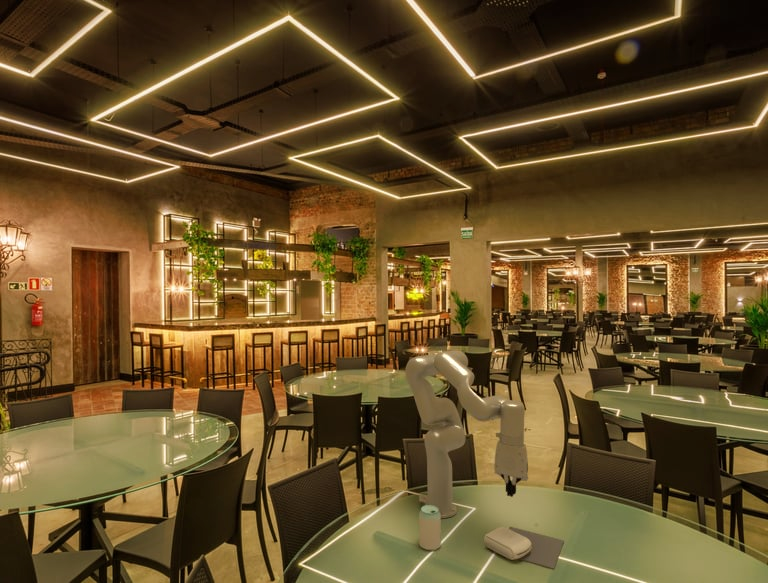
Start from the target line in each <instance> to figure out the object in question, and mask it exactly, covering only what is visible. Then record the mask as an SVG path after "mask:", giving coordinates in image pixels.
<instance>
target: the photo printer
mask: <svg viewBox="0 0 768 583" xmlns="http://www.w3.org/2000/svg"><path fill="white" fill-rule="evenodd" d="M483 538H484V539H483V543H484V545H485V547H486V548H488V549H490V550H492V551H494V553H495V552H497V553H496V554H498V553H499V554H498V555H501V556H503V557H505V558H506V559H508V560H512V561H513V560H519V559H518V558H521V557H523V556H525V555H526V554H527V553H528V552H529V551H530V550H531V548H532V547H531V542H530V540H529V539H528V538H526V537H524V536H522V535H520V534H518V533H516V532H514V531H512V530H510V529H509V527H508V528H507V527H505V526H500V527H498V528H496V529H494V530H492V531H488V533H486V534H485V536H484V537H483Z"/></svg>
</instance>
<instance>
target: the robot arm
mask: <svg viewBox="0 0 768 583" xmlns="http://www.w3.org/2000/svg"><path fill="white" fill-rule="evenodd" d="M468 365H469V359H468V357H467V355H466V354H465V353H464V352H463V351H461V350H459V349H458V350H456V349H455V350H447V351H446V350H445V351H441V352H438V353H435V354H426V355H425V354H424V355H418V356H414V357H412V358H410V359H409V360H408V362H407V364H406V366H405V371H404V372H405V378H406V382H407V384H408V385H409V387H410V390H411V392H412V394H413V397H414V398H413V399H414V400H415V401H414V402H415V405H416V407H417V411H418V414H419V417H420V419H421V422H423V424H424V425H427V426H434V425H438V424H442V425H441V426H438V427H434V428H432V429H430V430H428V431H427V433H425V436H424V448H425V452H426V453H425V454H426V463H427V465H426V467H427V470H426V473H427V495H425V494H422V493H419V495H418V502H420V503H423V506H426V505H433V506H436V507H437V508H438V509H439V510H438V511H439V512H440V514H441V519H447V518H452V517H454V516H456V514H457V506H456V505H455V504H454V503H453V465H452V460H451V458H450V456H449V452H451V451H454V450H457V449H459V448H462V446H464V445H465V442H466V433H465V428H464V426H463V423H462V420H461V417H460V414H459V412H458V409H457V407H456V404H455V403H454V402H453V400H451V399H449V398H447V397H439V398H438V397H437V395H436V393H435V390H434V387H433V385H431V383H430V382H429V381H428V380H427V379H426V377H432V376H440V375H441V376H442V377H443V378H444V379H445V380H446V381H447V382H448V383H450V384H451V385H452V387H454V389H455V390H456V392H457V398H458V401H459V403H460V405H461V406H462V408H463V409H464V410H465V411H466V412H467V413H468V414H469V415H470V416H472V418H474V419H475V420H476V421H478V422H489V421H493V420H498V419H500V422H499V423H500V427H499V428H500V432H496V433H495V437H496V438H498V441H497V443H496V448H495V455H494V462H493V464H494V467H493V468H494V474H496V475H497V476H500V478H502V480H503V481H504V483H505V492H506V495H507V496H508V497H511V498H513V496H514V495H516V493H517V484H518V483H519V482H527V481H528V479H529V476H528V475H529V474H528V471H529V460H528V450H527V446H526V444H525V406H524V403H522V402H521V401H518V400H511V399H509V398H506V397H504V396H502V395H496V394H495V395H491V396H486V397H480V396H479V395H477V394H478V393H476V392H474V390H473V389H472V388H471V386H472V385H473V384H474V380H475V374H474V372H472V371H471V370H470V369H469V368H468ZM511 477H512V480H511Z"/></svg>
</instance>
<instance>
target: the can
mask: <svg viewBox="0 0 768 583" xmlns="http://www.w3.org/2000/svg"><path fill="white" fill-rule="evenodd" d="M438 510H439V509H438V508H437V507H436V506H433V505H426V506H424V505H423V506H422V507H421V508H420V511H419V513H418V522H419V524H418V528H419V529H418V532H419V535H418V539H419V541H418V542H419V546H420V547H421V548H423V549H424V550H426V551H435V550H437V549H439V548H440V547H441V545H442V541H441V540H442V538H441V537H442V534H441V533H442V532H441V528H442V526H441V525H442V522H441V519H442V518H441V514H440V512H439V511H438Z"/></svg>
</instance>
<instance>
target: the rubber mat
mask: <svg viewBox="0 0 768 583" xmlns="http://www.w3.org/2000/svg"><path fill="white" fill-rule="evenodd" d="M508 529H510V530H512V531H514V532H516V533H518V534H520V535H522V536H524V537H526V538H528V539H529V540H530V542H531V547H532V548H531V550H530V551H529V552H528V553H527V554H526V555H525V556H523V557H521V558H518V559H517V560H519V561H523V562H527V563H530V564H534V565H535V566H540V567H542V568H545V569H550V570H555V569H556V566H557V562H558V560H559V557H560V554H561V552H562V549H561V548H563V545H564V542H565V540H563V539H559V538H556V537H552V536H547V535H545V534H544V535H543V534H540V533H536V532H532V531H529V530H526V529H521V528H518V527H513V526H509V527H508ZM560 551H561V552H560ZM494 553H495V554H498V555H500V554H499V553H497V552H495V551H494Z"/></svg>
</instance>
